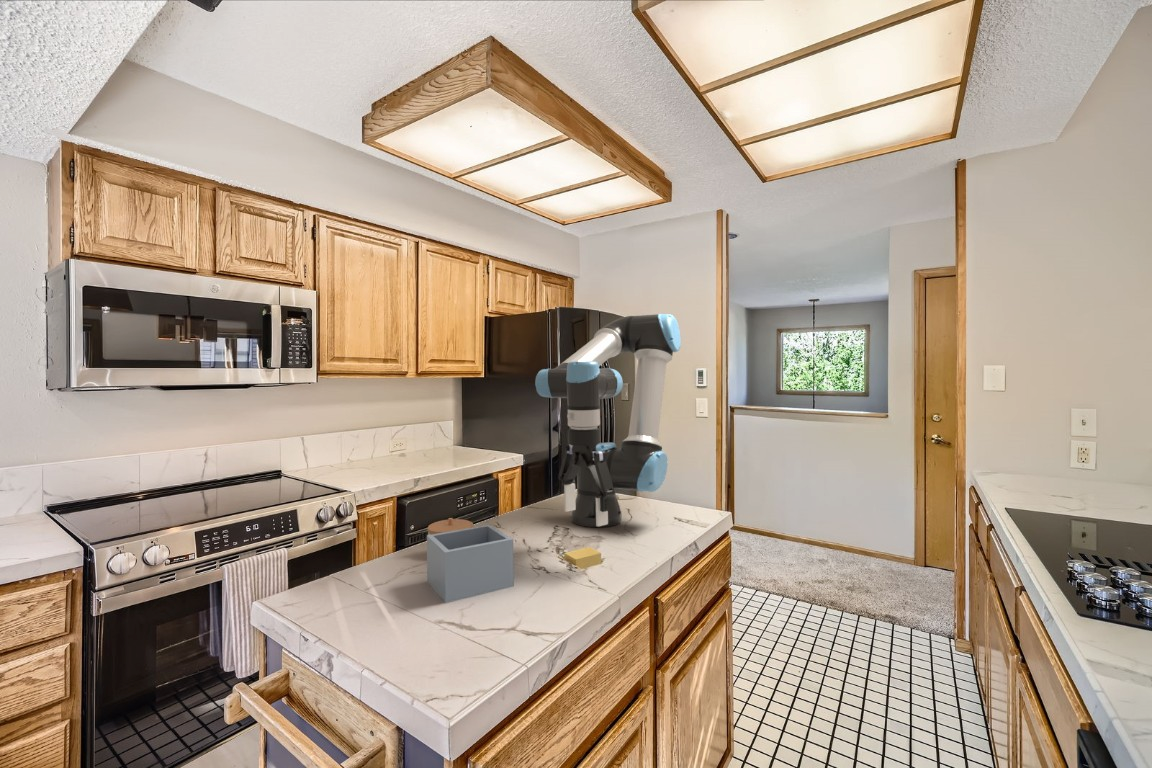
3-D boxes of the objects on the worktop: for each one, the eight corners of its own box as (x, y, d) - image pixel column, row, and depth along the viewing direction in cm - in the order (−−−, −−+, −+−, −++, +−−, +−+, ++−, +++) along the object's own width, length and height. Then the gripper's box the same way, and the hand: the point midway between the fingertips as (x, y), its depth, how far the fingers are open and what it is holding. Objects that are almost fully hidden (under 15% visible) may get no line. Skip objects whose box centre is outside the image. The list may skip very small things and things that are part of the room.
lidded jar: (462, 566, 118) (461, 526, 117) (419, 563, 120) (419, 523, 120) (480, 550, 128) (479, 513, 128) (440, 548, 130) (440, 511, 130)
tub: (490, 573, 113) (490, 524, 113) (513, 593, 103) (513, 539, 103) (427, 588, 106) (426, 535, 106) (445, 610, 96) (445, 552, 96)
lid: (581, 553, 126) (581, 543, 126) (610, 568, 116) (610, 557, 116) (503, 571, 115) (503, 560, 115) (527, 590, 105) (527, 578, 105)
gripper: (543, 423, 127) (545, 507, 128) (601, 434, 106) (603, 535, 107) (569, 421, 131) (571, 502, 132) (629, 431, 110) (631, 528, 111)
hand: (585, 517), depth 120 cm, fingers open, 13 cm apart
